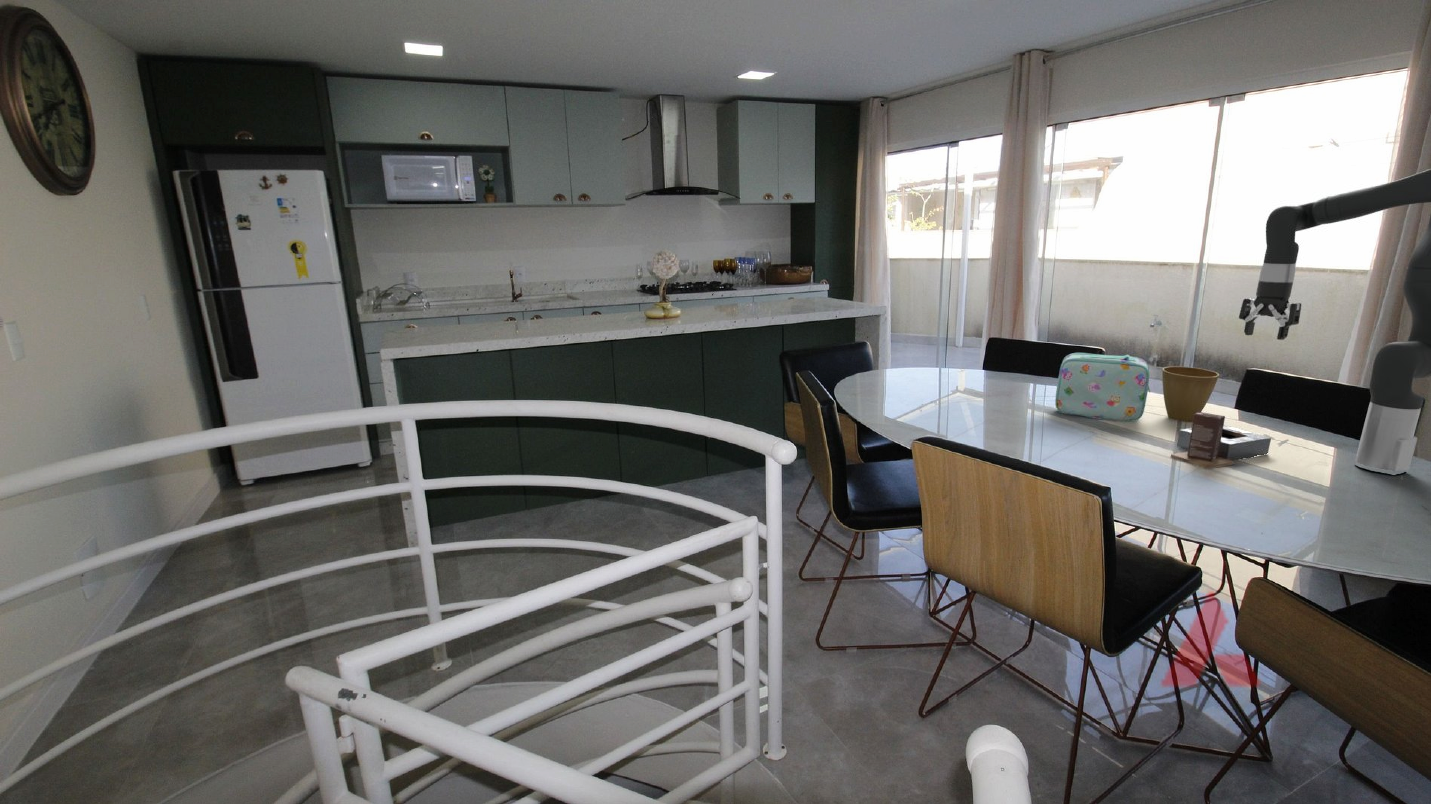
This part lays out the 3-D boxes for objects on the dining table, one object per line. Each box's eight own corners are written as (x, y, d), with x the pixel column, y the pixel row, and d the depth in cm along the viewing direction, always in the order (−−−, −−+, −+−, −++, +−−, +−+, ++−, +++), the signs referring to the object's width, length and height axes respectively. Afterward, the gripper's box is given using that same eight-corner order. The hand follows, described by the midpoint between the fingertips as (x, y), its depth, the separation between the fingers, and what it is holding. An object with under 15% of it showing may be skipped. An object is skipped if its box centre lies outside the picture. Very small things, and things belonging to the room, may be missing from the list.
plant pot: (1144, 416, 221) (1152, 369, 217) (1172, 410, 227) (1180, 364, 223) (1191, 428, 208) (1200, 378, 204) (1220, 422, 214) (1229, 373, 210)
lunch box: (1145, 417, 220) (1156, 353, 214) (1146, 426, 211) (1157, 359, 205) (1055, 407, 233) (1062, 346, 227) (1052, 414, 224) (1060, 352, 219)
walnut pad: (1233, 464, 177) (1234, 461, 177) (1206, 469, 174) (1207, 466, 174) (1197, 452, 186) (1197, 450, 186) (1170, 456, 183) (1171, 454, 183)
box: (1217, 458, 179) (1226, 415, 176) (1212, 462, 177) (1220, 418, 174) (1191, 452, 184) (1199, 410, 181) (1185, 456, 181) (1193, 413, 178)
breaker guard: (1267, 455, 184) (1271, 437, 183) (1226, 462, 179) (1229, 443, 178) (1216, 440, 197) (1219, 423, 196) (1176, 446, 192) (1179, 428, 191)
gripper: (1314, 281, 182) (1301, 340, 186) (1258, 277, 195) (1247, 332, 199) (1295, 282, 179) (1282, 342, 184) (1240, 278, 192) (1229, 334, 197)
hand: (1264, 337), depth 191 cm, fingers open, 8 cm apart
